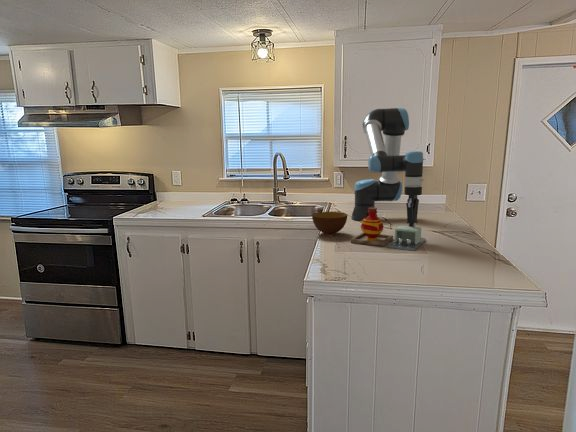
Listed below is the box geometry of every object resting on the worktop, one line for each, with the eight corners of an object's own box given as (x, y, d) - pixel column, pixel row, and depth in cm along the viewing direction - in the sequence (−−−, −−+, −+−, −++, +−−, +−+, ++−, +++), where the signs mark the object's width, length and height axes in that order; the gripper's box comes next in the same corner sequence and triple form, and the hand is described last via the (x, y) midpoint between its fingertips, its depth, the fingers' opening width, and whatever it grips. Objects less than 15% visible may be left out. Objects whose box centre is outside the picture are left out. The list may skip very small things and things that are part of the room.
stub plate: (388, 247, 177) (388, 239, 176) (402, 238, 193) (402, 230, 193) (414, 250, 171) (414, 242, 170) (425, 240, 188) (426, 233, 187)
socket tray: (350, 242, 187) (350, 239, 186) (363, 236, 199) (363, 232, 199) (382, 246, 179) (382, 242, 178) (393, 239, 191) (393, 235, 191)
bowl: (305, 235, 204) (304, 215, 202) (326, 229, 217) (326, 210, 215) (333, 240, 192) (333, 219, 191) (354, 233, 205) (354, 214, 203)
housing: (394, 242, 181) (394, 228, 180) (399, 238, 187) (399, 225, 186) (416, 244, 176) (417, 230, 175) (420, 241, 182) (421, 227, 181)
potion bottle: (384, 237, 192) (384, 206, 189) (382, 243, 182) (382, 210, 180) (361, 236, 195) (362, 206, 193) (358, 241, 186) (359, 209, 183)
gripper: (418, 187, 175) (416, 240, 179) (425, 184, 186) (423, 234, 190) (400, 187, 179) (399, 239, 183) (408, 184, 190) (407, 233, 194)
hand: (411, 236), depth 187 cm, fingers closed
